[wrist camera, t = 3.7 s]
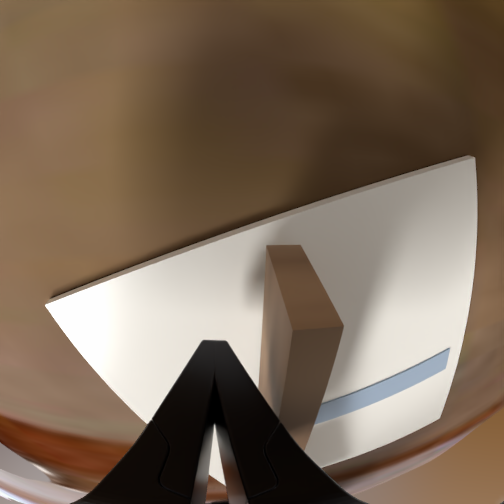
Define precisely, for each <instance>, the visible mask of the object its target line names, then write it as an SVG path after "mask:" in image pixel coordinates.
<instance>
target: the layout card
mask: <svg viewBox="0 0 504 504" xmlns="http://www.w3.org/2000/svg"><path fill="white" fill-rule="evenodd" d="M476 242H477V179H476V164H475V157H472V156H469V155H467V156H464V157H460V158H457V159H453V160H450V161H446V162H443V163H440V164H436V165H433V166H429V167H426V168H423V169H419V170H416V171H413V172H409V173H406V174H403V175H399V176H396V177H393V178H390V179H386V180H383V181H380V182H377V183H373V184H370V185H367V186H364V187H361V188H358V189H354V190H351V191H348V192H345V193H342V194H339V195H336V196H333V197H330V198H326V199H323V200H320V201H317V202H314V203H311V204H308V205H305V206H302V207H299V208H296V209H293V210H290V211H287V212H284V213H281V214H278V215H275V216H272V217H269V218H267V219H264V220H261V221H258V222H255V223H252V224H249V225H246V226H243V227H240V228H238V229H235V230H232V231H229V232H226V233H223V234H221V235H218V236H215V237H212V238H209V239H206V240H204V241H201V242H198V243H195V244H193V245H190V246H187V247H184V248H182V249H179V250H176V251H173V252H171V253H168V254H165V255H162V256H160V257H157V258H154V259H152V260H149V261H146V262H144V263H141V264H138V265H136V266H133V267H130V268H128V269H125V270H123V271H120V272H117V273H115V274H112V275H109V276H107V277H104V278H102V279H99V280H97V281H94V282H91V283H89V284H86V285H84V286H81V287H79V288H76V289H74V290H71V291H69V292H66V293H64V294H61V295H59V296H56V297H54V298H51V299H49V300H48V302H47V303H46V304H45V306H46V307H47V309H48V310H49V312H50V313H51V314H52V316H53V317H54V319H55V320H56V322H57V323H58V324H59V326H60V327H61V328H62V330H63V331H64V333H65V334H66V335H67V337H68V338H69V339H70V340H71V342H72V343H73V344H74V346H75V347H76V348H77V349H78V351H79V352H80V353H81V354H82V356H83V357H84V358H85V359H86V360H87V362H88V363H89V364H90V365H91V366H92V367H93V369H94V370H95V371H96V372H97V373H98V374H99V375H100V377H101V378H102V379H103V380H104V381H105V382H106V383H107V384H108V385H109V387H110V388H111V389H112V390H113V391H114V392H115V393H116V394H117V395H118V396H119V397H120V398H121V399H122V400H123V401H124V402H125V403H126V404H127V405H128V406H129V407H130V408H131V409H132V410H133V411H134V412H135V413H136V414H137V415H138V416H139V417H140V418H141V419H142V420H143V421H144V422H145V423H147V424H148V423H149V421H150V420H152V417H153V415H154V414H155V412H156V411H157V409H158V408H159V406H160V405H161V403H162V401H163V400H164V398H165V397H166V395H167V394H168V392H169V391H170V389H171V388H172V386H173V384H174V383H175V381H176V380H177V378H178V377H179V375H180V374H181V372H182V371H183V369H184V367H185V366H186V364H187V363H188V361H189V360H190V358H191V357H192V355H193V353H194V352H195V350H196V349H197V347H198V346H199V344H200V343H201V341H202V340H226V341H227V342H228V343H229V345H230V346H231V348H232V349H233V351H234V353H235V354H236V356H237V357H238V359H239V360H240V362H241V364H242V365H243V367H244V368H245V370H246V371H247V373H248V374H249V376H250V377H251V379H252V380H253V382H254V383H255V385H256V386H257V388H258V385H259V369H260V353H261V336H262V318H263V300H264V281H265V261H266V245H301V247H302V248H303V250H304V252H305V254H306V255H307V257H308V259H309V261H310V263H311V265H312V266H313V268H314V270H315V272H316V274H317V275H318V277H319V279H320V281H321V283H322V285H323V287H324V288H325V290H326V292H327V294H328V296H329V298H330V300H331V302H332V303H333V305H334V307H335V309H336V311H337V313H338V315H339V317H340V319H341V321H342V323H343V325H344V329H343V333H342V336H341V340H340V344H339V348H338V351H337V355H336V358H335V362H334V365H333V368H332V372H331V375H330V378H329V382H328V385H327V388H326V391H325V394H324V397H323V400H322V403H321V406H320V409H319V412H318V415H317V418H316V421H315V424H314V426H313V429H312V432H311V435H310V437H309V440H308V442H307V445H306V448H305V450H304V452H305V453H306V454H307V455H308V456H309V457H310V458H311V459H312V460H313V461H314V462H315V463H316V464H317V465H318V466H319V467H320V468H322V467H325V466H328V465H332V464H335V463H338V462H341V461H344V460H347V459H350V458H353V457H355V456H358V455H361V454H364V453H366V452H369V451H371V450H374V449H376V448H379V447H381V446H384V445H386V444H388V443H391V442H393V441H395V440H397V439H400V438H402V437H404V436H406V435H408V434H410V433H412V432H414V431H417V430H419V429H421V428H422V427H424V426H426V425H428V424H430V423H432V422H434V421H436V420H438V419H439V418H440V416H441V414H442V411H443V408H444V405H445V402H446V399H447V396H448V393H449V390H450V387H451V384H452V380H453V377H454V374H455V370H456V366H457V363H458V359H459V355H460V351H461V347H462V342H463V338H464V333H465V328H466V323H467V318H468V312H469V306H470V300H471V293H472V286H473V278H474V268H475V257H476ZM209 475H211V476H212V477H214V478H215V479H216V480H218V481H219V482H221V483H222V484H224V485H225V480H224V474H223V469H222V464H221V458H220V453H219V447H218V441H217V435H216V429H215V425H214V433H213V441H212V449H211V458H210V466H209ZM225 486H226V485H225Z"/></svg>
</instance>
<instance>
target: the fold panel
mask: <svg viewBox="0 0 504 504" xmlns="http://www.w3.org/2000/svg"><path fill="white" fill-rule="evenodd" d="M343 329H344V325H343V323H342V321H341V319H340V317H339V315H338V313H337V311H336V309H335V307H334V305H333V303H332V302H331V300H330V298H329V296H328V294H327V292H326V290H325V288H324V287H323V285H322V283H321V281H320V279H319V277H318V275H317V274H316V272H315V270H314V268H313V266H312V265H311V263H310V261H309V259H308V257H307V255H306V254H305V252H304V250H303V248H302V247H301V245H266V261H265V281H264V300H263V318H262V336H261V353H260V369H259V385H258V389H259V391H260V392H261V394H262V395H263V397H264V398H265V400H266V401H267V403H268V404H269V405H270V407H271V408H272V410H273V411H274V413H275V414H276V416H277V417H278V418H279V420H280V423H282V424H283V425H284V427H285V428H286V429H287V431H288V432H289V433H290V435H291V436H292V437H293V439H294V440H295V441H296V442H297V444H298V445H299V446H300V447H301V448H302V449H303V450H305V448H306V445H307V442H308V440H309V437H310V435H311V432H312V429H313V426H314V424H315V421H316V418H317V415H318V412H319V409H320V406H321V403H322V400H323V397H324V394H325V391H326V388H327V385H328V382H329V378H330V375H331V372H332V368H333V365H334V362H335V358H336V355H337V351H338V348H339V344H340V340H341V336H342V333H343Z"/></svg>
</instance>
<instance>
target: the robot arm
mask: <svg viewBox="0 0 504 504" xmlns="http://www.w3.org/2000/svg"><path fill="white" fill-rule="evenodd" d="M214 425H215V429H216V435H217V441H218V447H219V453H220V458H221V464H222V469H223V474H224V480H225V485H226V490H227V494H228V499H229V504H368V503H366V502H363V501H361V500H359V499H357V498H355V497H353V496H352V495H350V494H349V493H347V492H346V491H345V490H344V489H343V488H341V487H340V486H339V485H338V484H337V483H336V482H335V481H334V480H333V479H332V478H331V477H330V476H328V475H327V474H326V473H325V472H324V471H323V470H322V469H321V468H320V467H319V466H318V465H317V464H316V463H315V462H314V461H313V460H312V459H311V458H310V457H309V456H308V455H307V454H306V453H305V452H304V450H303V449H302V448H301V447H300V446H299V445H298V444H297V442H296V441H295V440H294V439H293V437H292V436H291V435H290V433H289V432H288V431H287V429H286V428H285V427H284V425H283V424H282V423H280V420H279V418H278V417H277V416H276V414H275V413H274V411H273V410H272V408H271V407H270V405H269V404H268V403H267V401H266V400H265V398H264V397H263V395H262V394H261V392H260V391H259V389H258V388H257V386H256V385H255V383H254V382H253V380H252V379H251V377H250V376H249V374H248V373H247V371H246V370H245V368H244V367H243V365H242V364H241V362H240V360H239V359H238V357H237V356H236V354H235V353H234V351H233V349H232V348H231V346H230V345H229V343H228V342H227V341H226V340H202V341H201V343H200V344H199V346H198V347H197V349H196V350H195V352H194V353H193V355H192V357H191V358H190V360H189V361H188V363H187V364H186V366H185V367H184V369H183V371H182V372H181V374H180V375H179V377H178V378H177V380H176V381H175V383H174V384H173V386H172V388H171V389H170V391H169V392H168V394H167V395H166V397H165V398H164V400H163V401H162V403H161V405H160V406H159V408H158V409H157V411H156V412H155V414H154V415H153V417H152V420H150V421H149V423H148V424H147V426H146V427H145V429H144V431H143V432H142V433H141V435H140V436H139V438H138V439H137V440H136V442H135V443H134V444H133V446H132V447H131V448H130V449H129V450H128V452H127V453H126V454H125V455H124V456H123V458H122V459H121V460H120V461H119V462H118V463H117V464H116V465H115V466H114V468H113V469H112V470H111V471H110V472H109V473H108V474H107V475H106V476H105V477H104V478H103V480H102V481H101V482H100V483H99V484H98V485H97V486H96V487H95V488H94V489H93V490H92V491H91V492H90V493H88V494H87V495H86V496H84V497H83V498H81V499H79V500H77V501H75V502H73V503H70V504H205V501H206V492H207V483H208V475H209V466H210V458H211V449H212V441H213V433H214ZM500 504H504V501H503V502H502V503H500Z"/></svg>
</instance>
